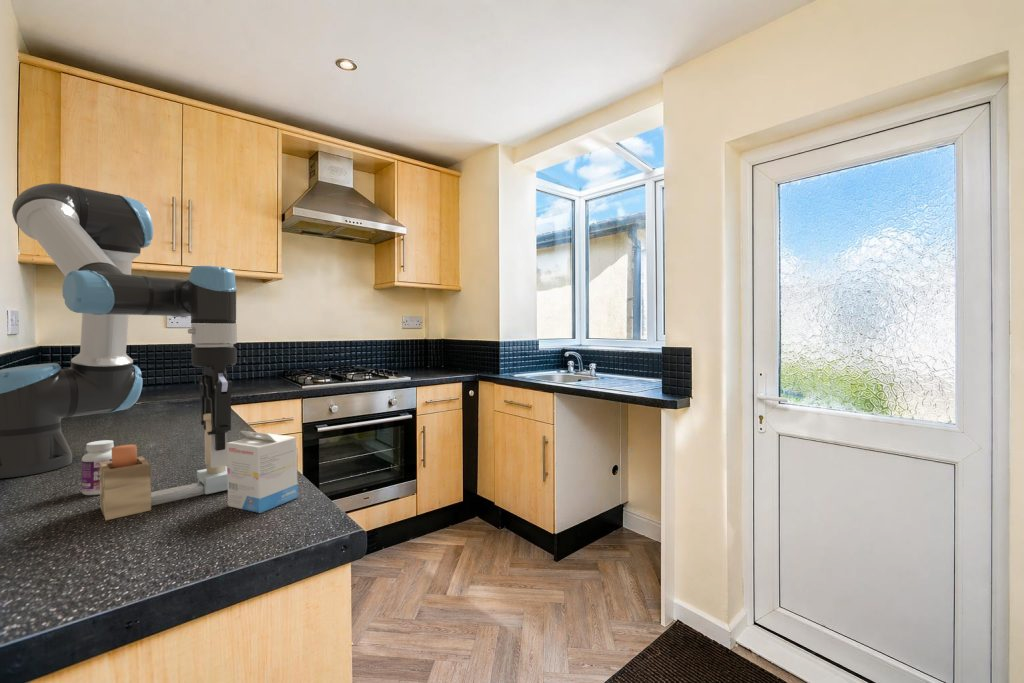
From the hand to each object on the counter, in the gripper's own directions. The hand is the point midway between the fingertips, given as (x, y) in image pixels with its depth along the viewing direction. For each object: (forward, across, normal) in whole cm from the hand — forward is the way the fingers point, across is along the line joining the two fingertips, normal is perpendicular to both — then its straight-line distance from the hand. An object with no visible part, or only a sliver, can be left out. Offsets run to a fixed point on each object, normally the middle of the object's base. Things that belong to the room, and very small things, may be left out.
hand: (216, 463), depth 92 cm
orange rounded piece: (-2, 0, -14) cm, 14 cm away
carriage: (+5, 0, 0) cm, 5 cm away
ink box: (+5, +14, +4) cm, 16 cm away
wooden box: (+5, 0, -14) cm, 15 cm away
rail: (+5, 0, -4) cm, 6 cm away
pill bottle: (+5, -15, -16) cm, 22 cm away
